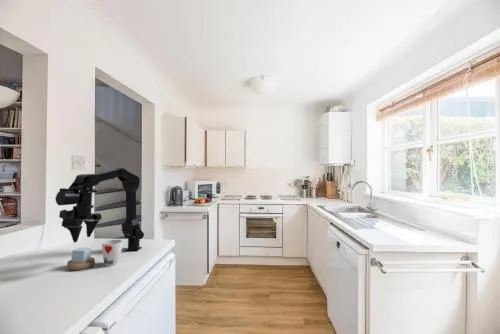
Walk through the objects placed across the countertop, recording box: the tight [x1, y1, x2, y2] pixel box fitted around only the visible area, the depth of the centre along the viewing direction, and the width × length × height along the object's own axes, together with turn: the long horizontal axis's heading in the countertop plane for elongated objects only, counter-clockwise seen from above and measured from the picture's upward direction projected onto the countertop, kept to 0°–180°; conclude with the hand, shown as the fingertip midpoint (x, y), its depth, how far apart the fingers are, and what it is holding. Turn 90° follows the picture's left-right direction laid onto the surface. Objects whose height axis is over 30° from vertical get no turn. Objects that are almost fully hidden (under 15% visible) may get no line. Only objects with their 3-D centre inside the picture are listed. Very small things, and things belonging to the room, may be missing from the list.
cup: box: [101, 239, 123, 267], centre depth 118 cm, size 8×8×10 cm
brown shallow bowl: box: [66, 256, 96, 272], centre depth 113 cm, size 10×10×2 cm
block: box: [71, 247, 92, 263], centre depth 113 cm, size 5×5×5 cm
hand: (82, 239), depth 113 cm, fingers open, 9 cm apart
